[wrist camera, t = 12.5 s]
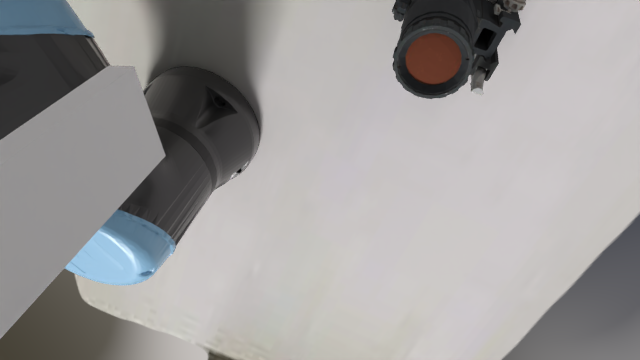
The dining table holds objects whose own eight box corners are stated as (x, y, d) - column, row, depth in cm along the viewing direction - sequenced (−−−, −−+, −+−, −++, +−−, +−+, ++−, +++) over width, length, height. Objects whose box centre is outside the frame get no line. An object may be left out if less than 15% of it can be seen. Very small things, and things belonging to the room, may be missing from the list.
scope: (484, 143, 34) (358, 93, 34) (481, 66, 44) (385, 28, 44) (551, 43, 28) (401, -16, 28) (529, -18, 39) (420, -61, 39)
